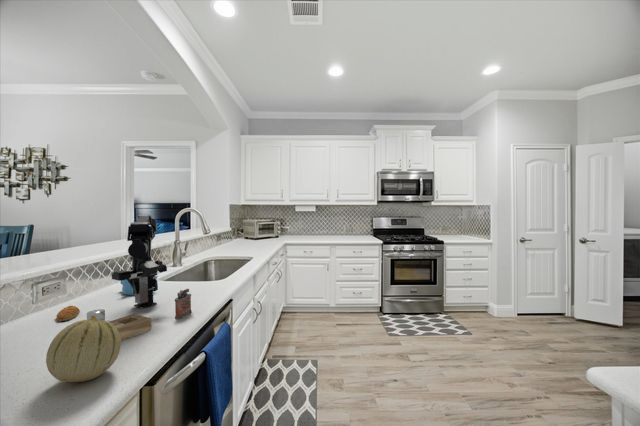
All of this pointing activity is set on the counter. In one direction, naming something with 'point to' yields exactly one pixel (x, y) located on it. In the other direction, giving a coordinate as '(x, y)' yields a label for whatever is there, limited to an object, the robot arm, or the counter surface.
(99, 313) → the cylinder
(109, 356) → the cantaloupe
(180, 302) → the lighter
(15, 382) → the counter surface
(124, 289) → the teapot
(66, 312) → the pastry
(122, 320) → the socket block
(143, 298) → the square bit
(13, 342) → the counter surface
